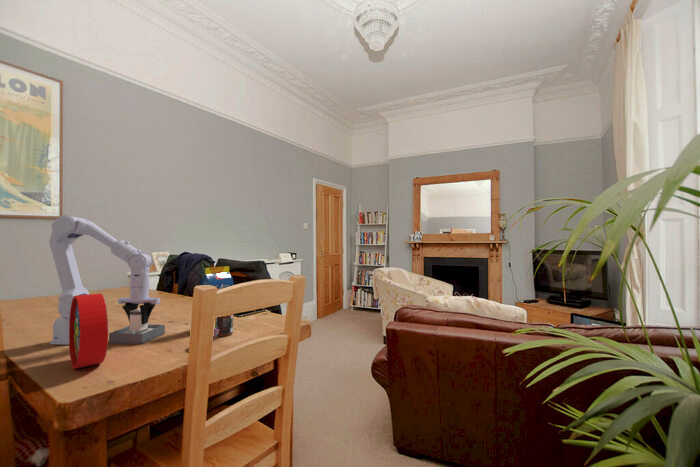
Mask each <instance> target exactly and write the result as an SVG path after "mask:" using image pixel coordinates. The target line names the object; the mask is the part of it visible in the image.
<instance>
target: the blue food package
mask: <svg viewBox="0 0 700 467" xmlns="http://www.w3.org/2000/svg"><path fill="white" fill-rule="evenodd" d="M204 269H205V271H204V273H205V274H204V276H203V277H202V279H201V281H200V284H199V285H213V286H216V287H217V288H218V289H222V288H225V287H228V286H232V285H234V284H235V283H234V279H233V276H232V275H231V273H230V266H229V265H227V266H218V267H217V266H213V267H205V268H204ZM216 319H217V318H215V328H216Z"/></svg>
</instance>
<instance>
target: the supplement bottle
mask: <svg viewBox="0 0 700 467" xmlns="http://www.w3.org/2000/svg"><path fill="white" fill-rule="evenodd" d="M216 328H217V329H218V330H219V333H218V335H217V336H216V337H227V336H230V335H232V334H233V331H234V313H233V314H231V315H226V316H221V317H217V319H216Z"/></svg>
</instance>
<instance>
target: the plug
mask: <svg viewBox="0 0 700 467" xmlns="http://www.w3.org/2000/svg"><path fill="white" fill-rule="evenodd" d="M148 324H149V322H148V323H146V324H142V315H141V310H140V308H137V309H135V310H131V311H130V323H129V326H130V327H129V330H131V331H141V330H143V329H146V328H148Z"/></svg>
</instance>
